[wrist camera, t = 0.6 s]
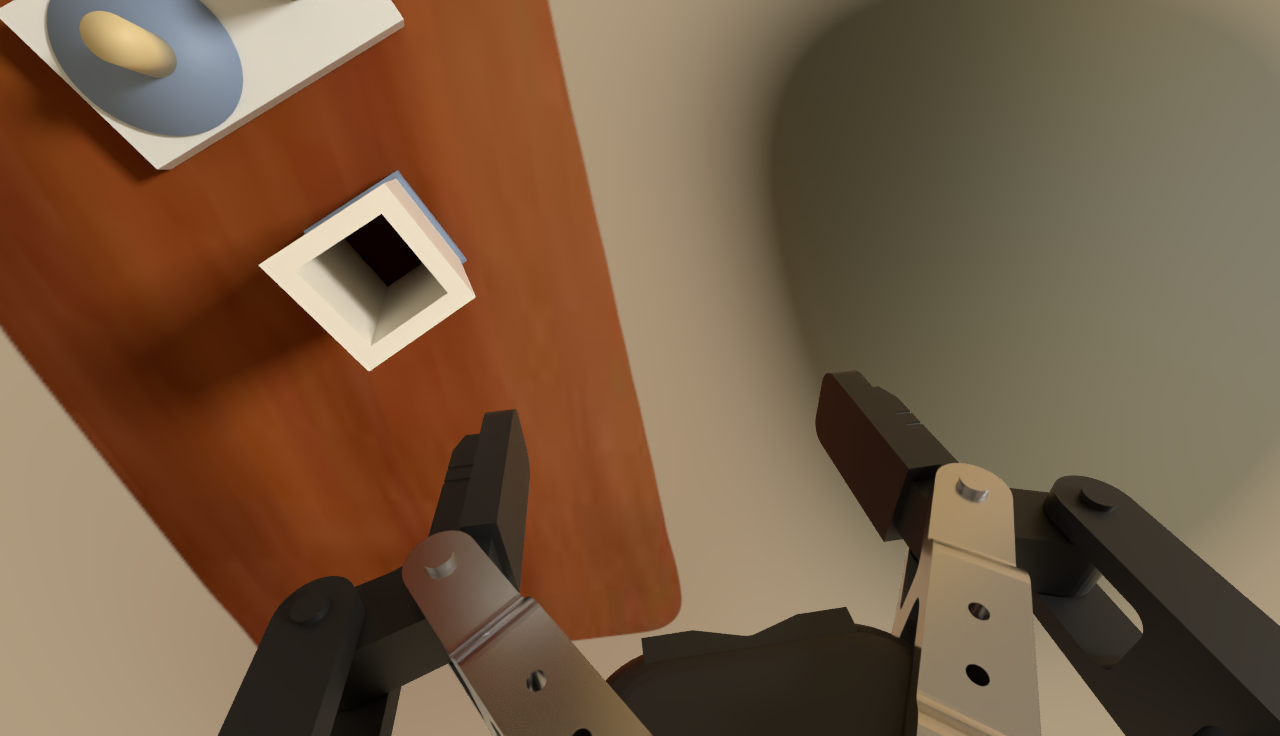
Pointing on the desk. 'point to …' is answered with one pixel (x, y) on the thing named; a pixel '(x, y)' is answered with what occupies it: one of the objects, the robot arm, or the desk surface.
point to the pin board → (194, 59)
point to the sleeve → (374, 274)
